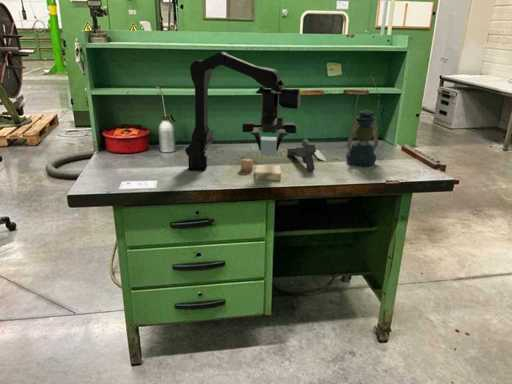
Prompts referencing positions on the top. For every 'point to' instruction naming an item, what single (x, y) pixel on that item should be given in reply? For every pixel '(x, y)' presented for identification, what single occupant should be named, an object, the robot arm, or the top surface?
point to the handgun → (304, 155)
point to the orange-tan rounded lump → (246, 165)
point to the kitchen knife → (317, 153)
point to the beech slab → (268, 172)
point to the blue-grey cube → (268, 146)
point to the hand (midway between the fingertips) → (268, 150)
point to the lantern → (363, 139)
